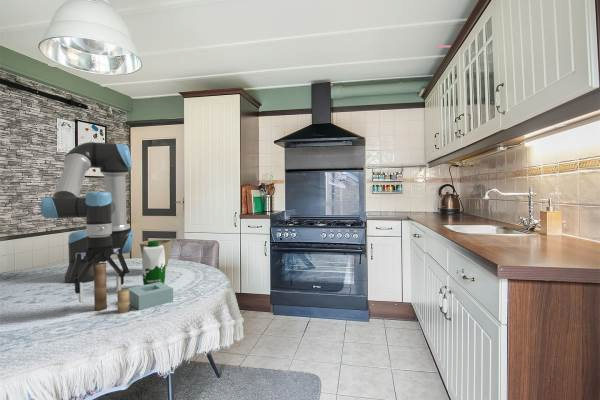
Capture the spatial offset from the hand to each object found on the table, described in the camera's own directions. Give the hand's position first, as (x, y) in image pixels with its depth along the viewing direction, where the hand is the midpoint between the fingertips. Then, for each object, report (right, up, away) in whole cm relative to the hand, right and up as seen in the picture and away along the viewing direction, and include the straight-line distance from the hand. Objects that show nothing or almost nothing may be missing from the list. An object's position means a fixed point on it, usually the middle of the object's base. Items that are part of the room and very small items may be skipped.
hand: (100, 297), depth 108 cm
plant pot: (-3, -3, +49) cm, 49 cm away
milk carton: (+8, -4, +23) cm, 25 cm away
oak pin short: (+9, -4, -2) cm, 10 cm away
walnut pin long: (0, -4, 0) cm, 4 cm away
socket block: (+14, -4, +7) cm, 16 cm away
